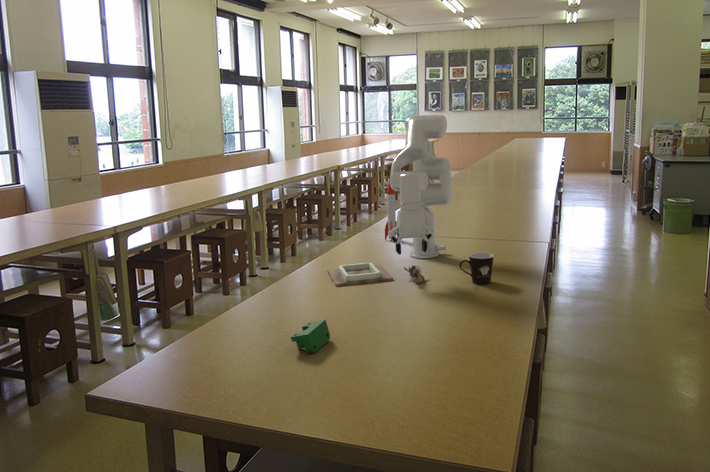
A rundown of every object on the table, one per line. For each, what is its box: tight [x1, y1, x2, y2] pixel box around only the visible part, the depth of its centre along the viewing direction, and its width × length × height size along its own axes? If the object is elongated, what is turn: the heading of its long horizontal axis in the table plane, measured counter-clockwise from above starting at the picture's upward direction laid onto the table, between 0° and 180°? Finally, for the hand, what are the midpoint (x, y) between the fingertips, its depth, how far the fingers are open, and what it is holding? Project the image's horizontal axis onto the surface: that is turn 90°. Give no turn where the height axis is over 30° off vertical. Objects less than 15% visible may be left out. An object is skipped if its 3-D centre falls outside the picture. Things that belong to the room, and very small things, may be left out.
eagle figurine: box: [403, 265, 426, 286], centre depth 208 cm, size 8×7×9 cm
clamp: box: [289, 319, 331, 354], centre depth 153 cm, size 12×6×9 cm, turn 152°
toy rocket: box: [384, 181, 397, 243], centre depth 276 cm, size 6×6×30 cm
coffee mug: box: [459, 252, 494, 286], centre depth 203 cm, size 12×9×10 cm
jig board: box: [327, 262, 394, 287], centre depth 218 cm, size 22×20×3 cm
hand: (411, 252), depth 207 cm, fingers open, 9 cm apart
